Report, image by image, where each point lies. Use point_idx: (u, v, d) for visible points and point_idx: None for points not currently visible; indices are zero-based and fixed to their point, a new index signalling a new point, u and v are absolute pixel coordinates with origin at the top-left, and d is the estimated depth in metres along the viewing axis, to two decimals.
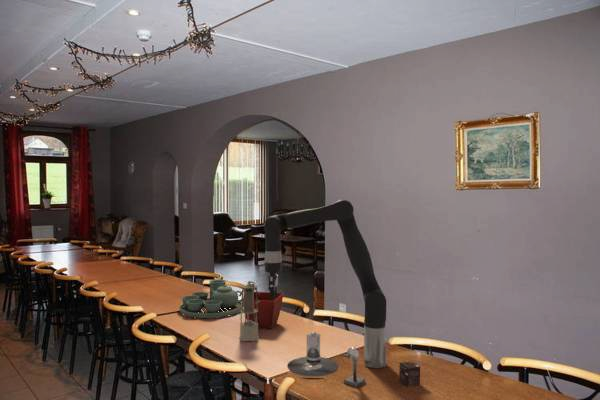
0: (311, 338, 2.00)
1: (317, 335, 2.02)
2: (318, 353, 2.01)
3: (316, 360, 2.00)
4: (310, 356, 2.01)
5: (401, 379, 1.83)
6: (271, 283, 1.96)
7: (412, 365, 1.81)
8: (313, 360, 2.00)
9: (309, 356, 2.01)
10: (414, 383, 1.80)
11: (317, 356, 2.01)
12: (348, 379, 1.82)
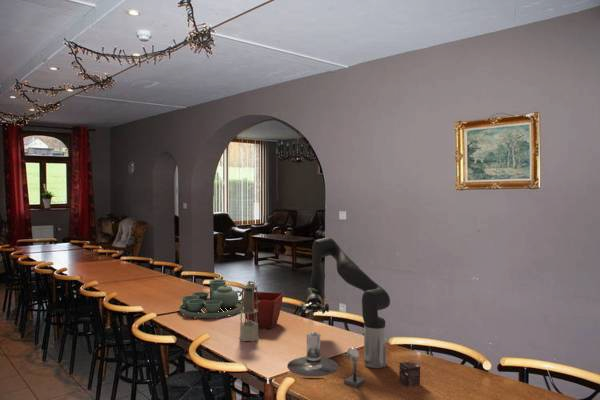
0: (311, 338, 2.00)
1: (317, 335, 2.02)
2: (318, 353, 2.01)
3: (316, 360, 2.00)
4: (310, 356, 2.01)
5: (401, 379, 1.83)
6: None
7: (412, 365, 1.81)
8: (313, 360, 2.00)
9: (309, 356, 2.01)
10: (414, 383, 1.80)
11: (317, 356, 2.01)
12: (348, 379, 1.82)
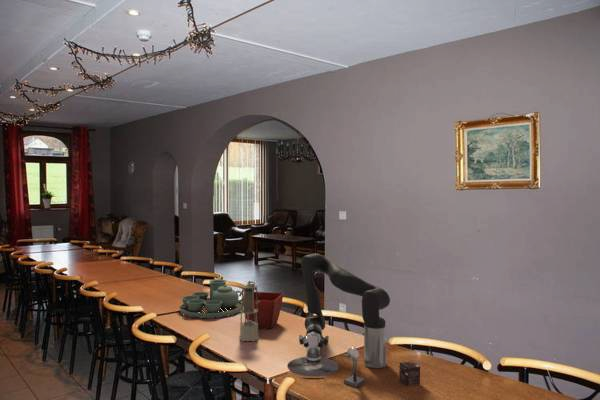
0: (311, 338, 2.00)
1: (317, 335, 2.02)
2: (318, 353, 2.01)
3: (316, 360, 2.00)
4: (310, 356, 2.01)
5: (401, 379, 1.83)
6: (299, 339, 2.08)
7: (412, 365, 1.81)
8: (313, 360, 2.00)
9: (309, 356, 2.01)
10: (414, 383, 1.80)
11: (317, 356, 2.01)
12: (348, 379, 1.82)
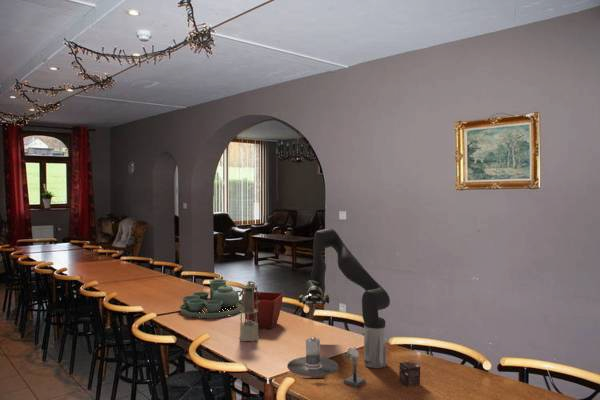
0: (310, 343, 1.93)
1: (317, 340, 1.95)
2: (318, 359, 1.94)
3: (316, 366, 1.93)
4: (309, 362, 1.93)
5: (401, 379, 1.83)
6: None
7: (412, 365, 1.81)
8: (313, 366, 1.93)
9: (308, 362, 1.94)
10: (414, 383, 1.80)
11: (317, 362, 1.93)
12: (348, 379, 1.82)
